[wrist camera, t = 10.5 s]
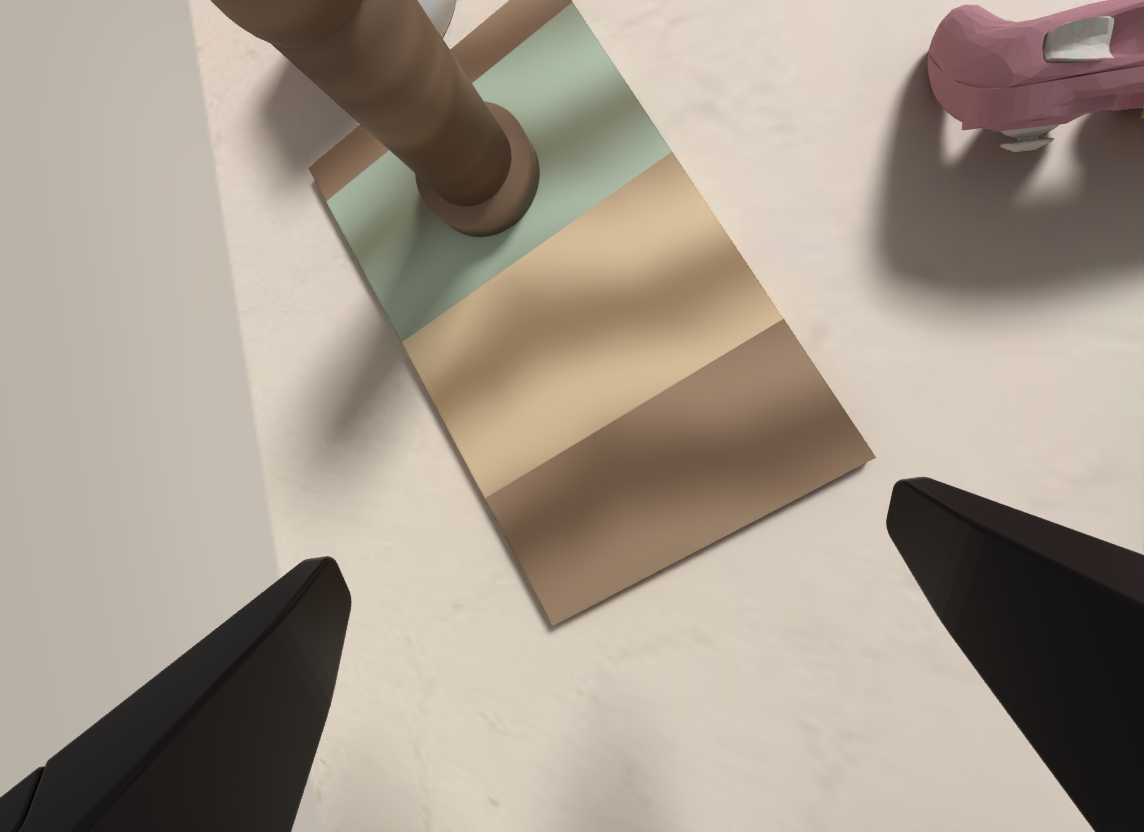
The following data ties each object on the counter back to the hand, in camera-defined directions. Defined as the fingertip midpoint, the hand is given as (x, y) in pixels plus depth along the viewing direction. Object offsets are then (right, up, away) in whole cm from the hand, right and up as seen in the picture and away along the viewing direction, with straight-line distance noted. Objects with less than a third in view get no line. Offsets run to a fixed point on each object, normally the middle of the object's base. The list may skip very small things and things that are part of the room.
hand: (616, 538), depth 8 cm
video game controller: (+17, +13, +10) cm, 23 cm away
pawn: (-4, +12, +14) cm, 19 cm away
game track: (-1, +7, +14) cm, 15 cm away
